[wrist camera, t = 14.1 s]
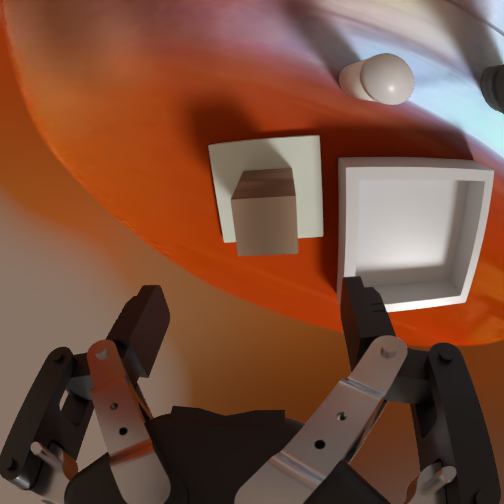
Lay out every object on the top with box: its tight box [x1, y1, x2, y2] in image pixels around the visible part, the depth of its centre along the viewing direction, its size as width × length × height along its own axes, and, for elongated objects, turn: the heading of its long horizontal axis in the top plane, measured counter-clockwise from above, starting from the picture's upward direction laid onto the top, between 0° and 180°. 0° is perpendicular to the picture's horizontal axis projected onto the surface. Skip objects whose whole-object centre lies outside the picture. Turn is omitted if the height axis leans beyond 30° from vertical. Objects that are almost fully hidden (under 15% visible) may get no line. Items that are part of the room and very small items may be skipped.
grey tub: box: [337, 157, 494, 312], centre depth 25 cm, size 14×14×4 cm
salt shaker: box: [339, 53, 414, 105], centre depth 17 cm, size 3×3×8 cm
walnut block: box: [231, 168, 298, 256], centre depth 23 cm, size 4×4×7 cm
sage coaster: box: [208, 135, 323, 243], centre depth 26 cm, size 9×9×1 cm
